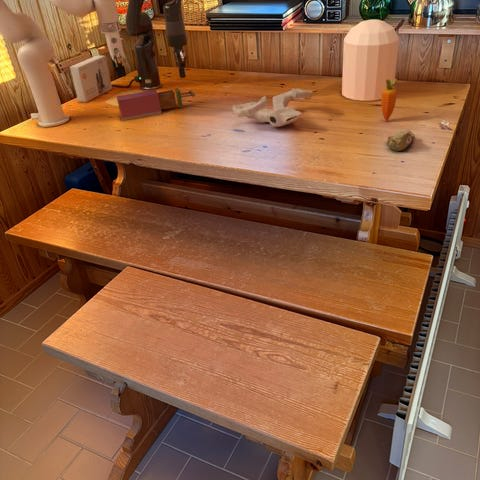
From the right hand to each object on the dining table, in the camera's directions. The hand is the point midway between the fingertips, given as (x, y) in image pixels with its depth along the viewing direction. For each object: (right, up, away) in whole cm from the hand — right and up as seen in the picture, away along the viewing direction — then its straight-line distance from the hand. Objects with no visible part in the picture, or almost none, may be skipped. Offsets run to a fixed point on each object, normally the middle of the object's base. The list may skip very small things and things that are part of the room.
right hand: (182, 77), depth 192 cm
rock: (+75, -37, -44) cm, 95 cm away
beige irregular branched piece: (+38, -25, -20) cm, 50 cm away
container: (+77, -6, +1) cm, 77 cm away
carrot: (+76, -25, -26) cm, 84 cm away
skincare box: (-45, +2, +31) cm, 55 cm away
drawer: (-6, -11, +5) cm, 13 cm away
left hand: (-24, -2, -9) cm, 25 cm away
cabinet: (-18, -15, +2) cm, 23 cm away
